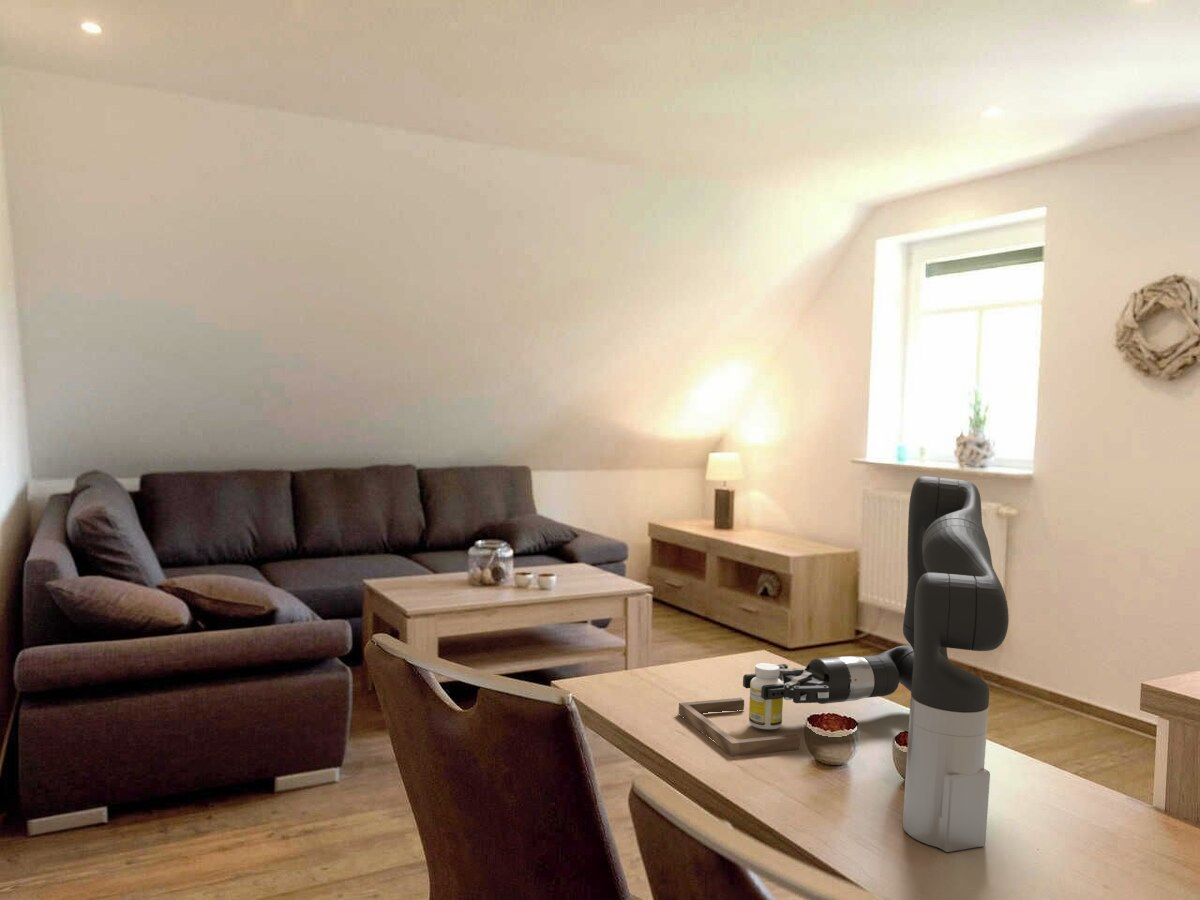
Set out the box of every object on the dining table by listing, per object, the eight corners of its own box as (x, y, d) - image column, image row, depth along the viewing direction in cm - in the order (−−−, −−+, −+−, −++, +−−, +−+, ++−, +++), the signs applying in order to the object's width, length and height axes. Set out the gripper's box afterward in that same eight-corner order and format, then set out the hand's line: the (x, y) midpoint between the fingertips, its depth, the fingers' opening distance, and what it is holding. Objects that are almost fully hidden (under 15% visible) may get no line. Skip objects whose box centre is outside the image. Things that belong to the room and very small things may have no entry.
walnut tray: (799, 749, 144) (800, 736, 144) (731, 756, 140) (732, 743, 140) (740, 709, 162) (740, 697, 162) (678, 714, 158) (679, 702, 158)
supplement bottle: (780, 719, 155) (782, 662, 155) (783, 731, 150) (786, 672, 150) (747, 717, 156) (750, 660, 155) (749, 729, 151) (752, 670, 150)
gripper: (816, 646, 164) (732, 652, 158) (867, 669, 151) (777, 677, 145) (814, 687, 165) (730, 695, 159) (864, 714, 151) (775, 724, 145)
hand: (753, 687), depth 152 cm, fingers closed on supplement bottle, 5 cm apart
